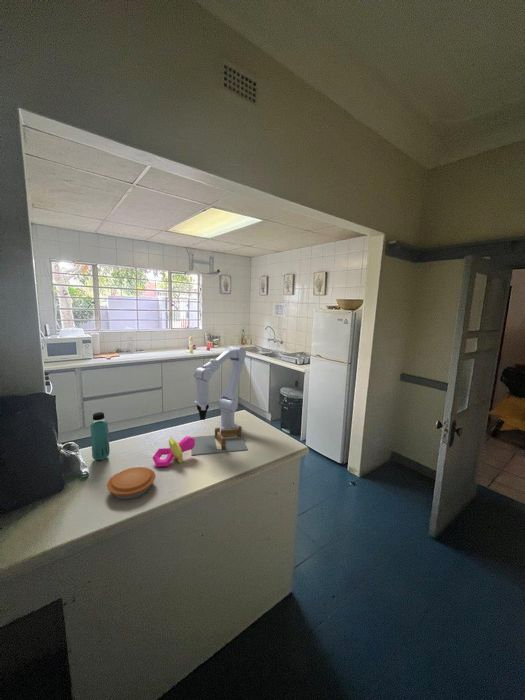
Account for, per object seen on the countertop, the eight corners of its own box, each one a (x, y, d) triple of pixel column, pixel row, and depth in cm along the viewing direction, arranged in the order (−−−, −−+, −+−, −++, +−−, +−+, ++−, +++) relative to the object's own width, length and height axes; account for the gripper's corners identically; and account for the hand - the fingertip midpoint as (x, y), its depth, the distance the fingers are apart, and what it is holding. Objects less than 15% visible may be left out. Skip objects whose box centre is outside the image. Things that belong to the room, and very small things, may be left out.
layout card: (191, 437, 138) (191, 436, 138) (240, 433, 144) (240, 432, 144) (191, 455, 122) (191, 454, 122) (247, 449, 128) (247, 448, 128)
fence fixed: (214, 438, 139) (214, 427, 138) (240, 435, 142) (241, 425, 141) (215, 440, 136) (215, 429, 135) (241, 437, 140) (241, 427, 139)
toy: (152, 459, 119) (147, 445, 113) (190, 438, 128) (188, 424, 122) (161, 478, 113) (156, 464, 106) (201, 454, 122) (199, 440, 116)
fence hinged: (216, 439, 136) (216, 430, 135) (220, 438, 137) (220, 429, 136) (222, 449, 126) (222, 439, 126) (226, 448, 127) (226, 438, 127)
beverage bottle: (102, 464, 113) (99, 417, 110) (88, 462, 114) (85, 415, 111) (113, 456, 119) (111, 411, 116) (100, 454, 120) (97, 409, 117)
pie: (163, 490, 99) (162, 477, 98) (115, 511, 88) (114, 496, 87) (146, 471, 110) (145, 459, 109) (101, 487, 99) (101, 474, 98)
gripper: (193, 388, 140) (193, 414, 142) (194, 397, 126) (194, 426, 128) (208, 387, 142) (207, 413, 144) (210, 396, 128) (210, 424, 130)
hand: (202, 419), depth 136 cm, fingers closed
